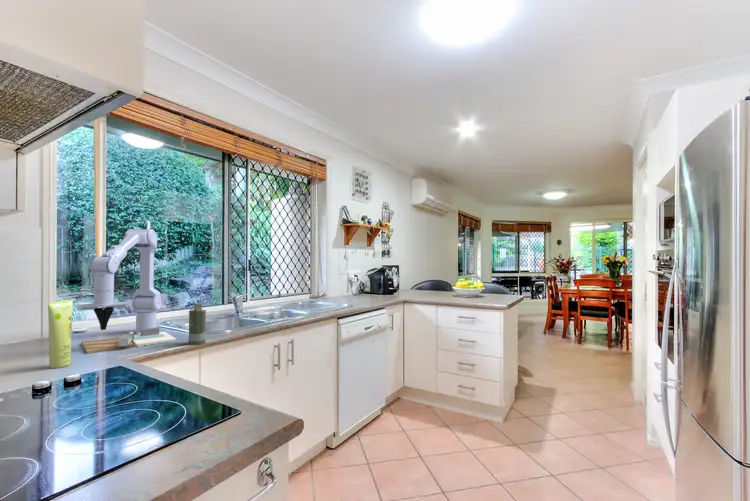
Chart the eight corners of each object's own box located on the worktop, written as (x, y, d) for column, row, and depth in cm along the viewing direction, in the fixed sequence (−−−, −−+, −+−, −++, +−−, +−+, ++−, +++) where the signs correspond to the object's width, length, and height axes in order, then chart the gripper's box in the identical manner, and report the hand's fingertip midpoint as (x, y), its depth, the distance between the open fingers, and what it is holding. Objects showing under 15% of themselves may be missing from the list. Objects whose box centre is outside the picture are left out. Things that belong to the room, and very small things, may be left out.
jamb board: (81, 343, 139) (81, 340, 139) (127, 338, 148) (127, 335, 148) (86, 353, 125) (86, 350, 125) (136, 346, 135) (136, 343, 135)
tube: (69, 367, 110) (70, 301, 111) (46, 370, 108) (48, 302, 108) (71, 362, 115) (72, 299, 115) (50, 365, 112) (51, 300, 113)
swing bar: (123, 338, 143) (123, 331, 143) (134, 337, 144) (135, 330, 144) (117, 346, 130) (117, 338, 130) (129, 345, 132) (129, 337, 132)
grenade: (186, 342, 142) (187, 303, 142) (203, 340, 146) (204, 301, 146) (190, 345, 137) (190, 304, 137) (207, 343, 141) (208, 303, 141)
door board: (127, 338, 148) (127, 329, 148) (164, 333, 157) (164, 325, 157) (137, 346, 135) (137, 337, 135) (176, 341, 144) (176, 332, 144)
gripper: (79, 293, 124) (78, 333, 124) (130, 290, 134) (129, 328, 134) (77, 291, 130) (76, 330, 129) (126, 289, 139) (126, 325, 139)
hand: (103, 329), depth 132 cm, fingers closed
